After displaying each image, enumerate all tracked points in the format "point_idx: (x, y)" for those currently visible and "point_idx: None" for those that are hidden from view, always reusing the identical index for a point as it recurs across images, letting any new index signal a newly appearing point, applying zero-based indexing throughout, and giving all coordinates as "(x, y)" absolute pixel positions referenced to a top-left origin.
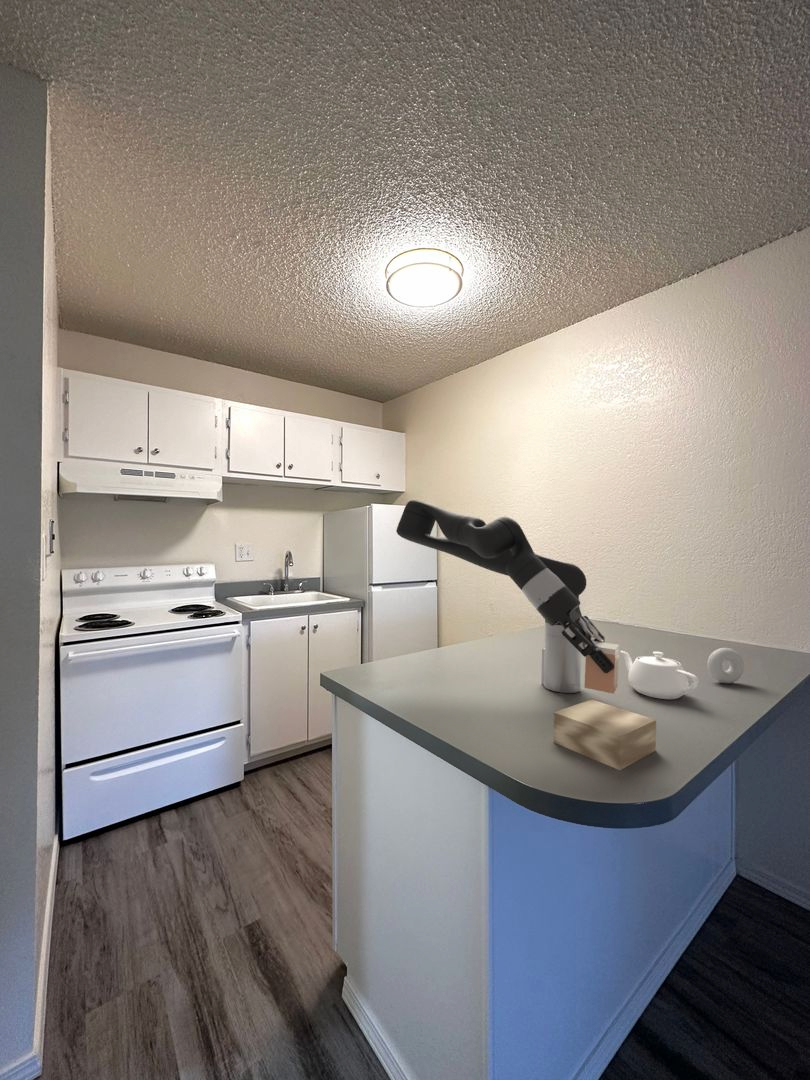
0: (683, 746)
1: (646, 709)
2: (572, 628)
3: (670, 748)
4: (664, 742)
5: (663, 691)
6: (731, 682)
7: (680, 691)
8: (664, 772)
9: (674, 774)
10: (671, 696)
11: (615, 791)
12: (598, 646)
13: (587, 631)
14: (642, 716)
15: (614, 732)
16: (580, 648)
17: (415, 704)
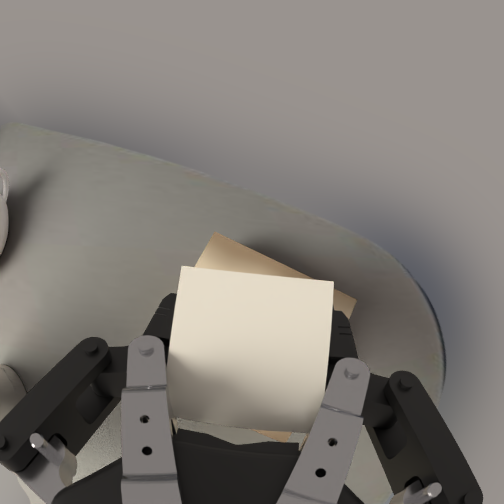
0: (182, 209)
1: (45, 258)
2: (476, 493)
3: (200, 228)
4: (178, 236)
5: (4, 225)
6: None
7: (4, 202)
8: (306, 243)
9: (305, 230)
10: (8, 217)
11: (404, 308)
12: (311, 371)
13: (351, 455)
14: (205, 257)
15: (342, 311)
16: (397, 437)
17: None
